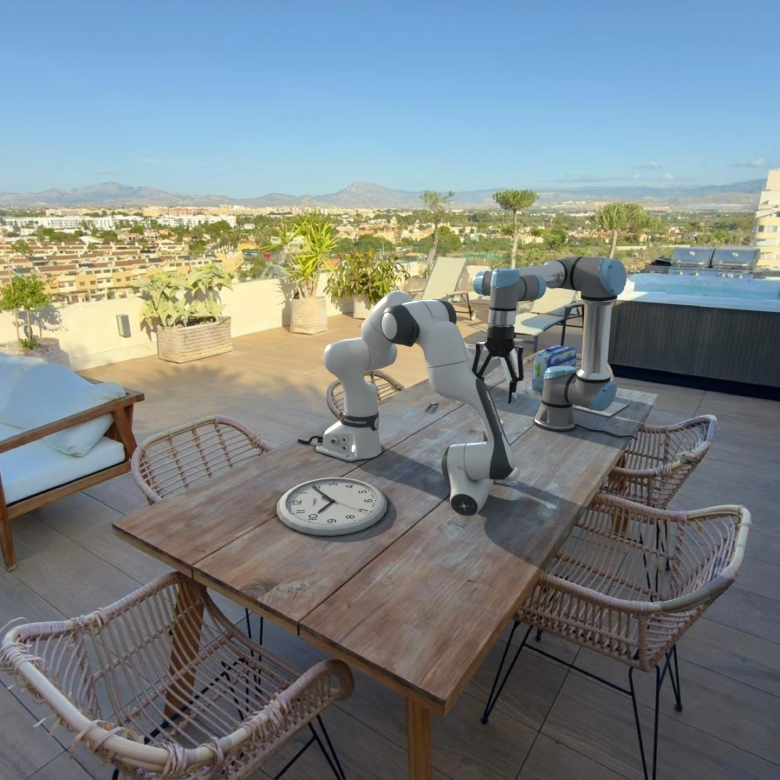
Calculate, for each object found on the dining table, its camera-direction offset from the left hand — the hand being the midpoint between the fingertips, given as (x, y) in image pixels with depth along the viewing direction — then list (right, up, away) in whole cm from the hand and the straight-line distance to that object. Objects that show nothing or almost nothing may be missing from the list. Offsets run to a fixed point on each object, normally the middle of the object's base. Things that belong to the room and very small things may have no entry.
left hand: (488, 460), depth 158 cm
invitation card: (+62, +14, +68) cm, 93 cm away
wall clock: (-46, -10, -15) cm, 49 cm away
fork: (-12, +14, +65) cm, 67 cm away
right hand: (+1, +18, -3) cm, 18 cm away
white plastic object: (+12, +20, +85) cm, 88 cm away
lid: (+1, +12, -1) cm, 12 cm away
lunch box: (+47, +21, +90) cm, 104 cm away
